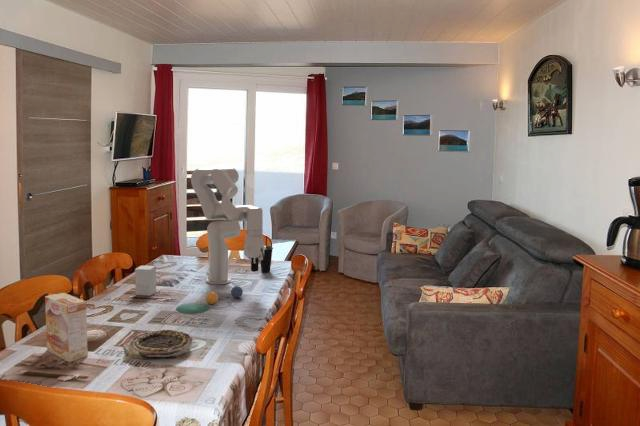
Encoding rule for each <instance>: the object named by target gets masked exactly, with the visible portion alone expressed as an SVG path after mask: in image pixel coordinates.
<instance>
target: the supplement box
mask: <svg viewBox="0 0 640 426" xmlns="http://www.w3.org/2000/svg"><path fill="white" fill-rule="evenodd" d="M156 270H157V269H156V265H140V266H138V267H136V268H135V269H134V278H135V280H134V281H135V296H152V295H153V294H155V293H156V292H157V276H156V275H157V273H156Z"/></svg>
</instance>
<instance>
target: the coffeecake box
mask: <svg viewBox="0 0 640 426" xmlns="http://www.w3.org/2000/svg"><path fill="white" fill-rule="evenodd" d="M44 303H45V304H44V305H45V306H44V307H45V327H46V328H45V330H46V351H47V352H49V353H51V354H53V355H55V356H56V357H59V358H60V359H62V360H64V361H66V362H68V363H71V362H73V361H77V360H80V359H84V358H86V357H88V356H89V355H88V324H87V323H88V322H87V300H83V299H81V298H78V297H76V296H74V295H71V294H68V293H67V292H66V293H65V292H60V293H56V294H55V293H54V294H49V295H45V296H44Z"/></svg>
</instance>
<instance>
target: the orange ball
mask: <svg viewBox="0 0 640 426" xmlns="http://www.w3.org/2000/svg"><path fill="white" fill-rule="evenodd" d="M218 300H219V295H218V294H217V293H216V292H215V291H209V292H208V293H206V294H205V301H206V302H207V303H208V304H209V305H215V304H216V303H217V302H218Z"/></svg>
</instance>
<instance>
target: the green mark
mask: <svg viewBox="0 0 640 426" xmlns="http://www.w3.org/2000/svg"><path fill="white" fill-rule="evenodd" d="M208 310H210V306H209V305H208V304H205V303H200V302H190V303H188V302H187V303H184V304H180V305H178V306H176V311H177V312H178V313H182V314H187V313H188V314H189V315H193V314H201V313H204V312H207V311H208Z"/></svg>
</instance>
